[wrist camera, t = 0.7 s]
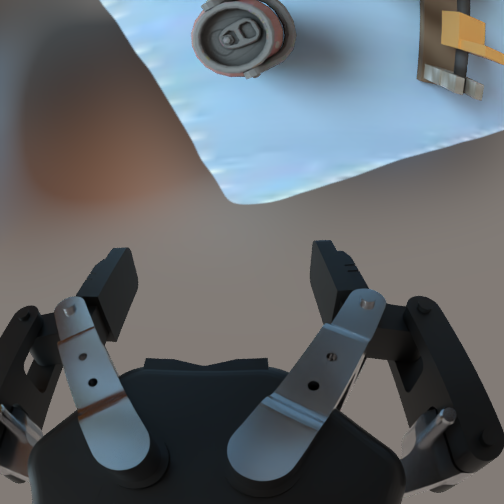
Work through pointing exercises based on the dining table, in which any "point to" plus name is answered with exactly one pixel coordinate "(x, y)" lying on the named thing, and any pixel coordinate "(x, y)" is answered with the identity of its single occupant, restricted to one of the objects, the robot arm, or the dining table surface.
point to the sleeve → (467, 35)
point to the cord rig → (443, 51)
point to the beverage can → (242, 36)
